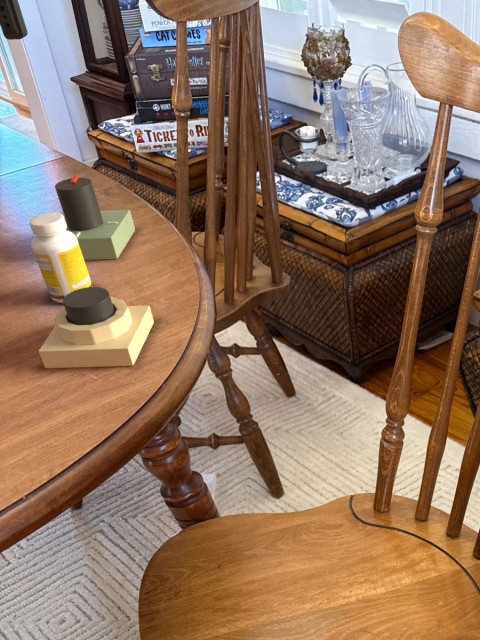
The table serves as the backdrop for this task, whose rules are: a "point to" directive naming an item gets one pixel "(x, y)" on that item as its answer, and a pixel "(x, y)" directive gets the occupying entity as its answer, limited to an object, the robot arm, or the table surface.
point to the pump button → (88, 306)
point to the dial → (79, 203)
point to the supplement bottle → (58, 256)
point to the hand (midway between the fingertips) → (16, 37)
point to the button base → (98, 339)
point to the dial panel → (106, 235)
